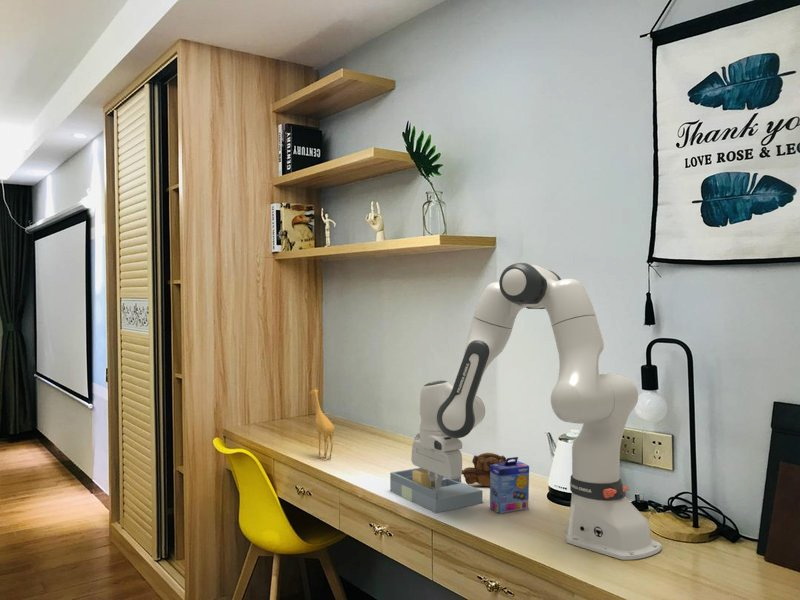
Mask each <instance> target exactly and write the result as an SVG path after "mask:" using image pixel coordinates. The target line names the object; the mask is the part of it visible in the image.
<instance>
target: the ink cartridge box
mask: <svg viewBox="0 0 800 600" xmlns="http://www.w3.org/2000/svg"><path fill="white" fill-rule="evenodd" d="M518 459H519V456H515V457H506V462H505V463H498V464H492V465H490V486H489V508H490V509H492V510H493V511H495V512H496V513H498V514H503V513H511V512H518V511H524V510H525V511H526V510H528V509H529V502H530V501H529V499H530V498H529V495H530V493H529V491H530V489H529V488H530V465H528V464H526V463H525V462H521V461H518Z"/></svg>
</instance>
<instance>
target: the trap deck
mask: <svg viewBox="0 0 800 600" xmlns="http://www.w3.org/2000/svg"><path fill="white" fill-rule="evenodd" d="M421 469H423V468H420V467H417V468H416V467H415V468H409V469H405V470H404V469H403V470H398V471H392V472H390V473H389V474H390V477H389V478H390V480H389V481H390V482H389V484H390V489H389V491H390V492H392V493H393V494H396V495H398V496H400V497H401V498H405V499H406V500H408V501H410V502H412V503H415V504H417V505H418V506H420V507H422V508H425V509H427V510H430V511H432V512H433V513H435V514H438V513H441V512H446V511H451V509H452V510H455V508H456V509H460V508H465V507H470V506H475V505H480V504H483V490H482V489H480V488H478V487H474V486H472V485H471V484H467V483H464V482H462V475H461V476H460V478H457V479H452V480H450V479H448V478H445V477H443V479H442V482H441V488H440V489H435V488H428V487H425V486H423V485H421V484H418V483H416V482H414V481H413V471H415V470H421Z"/></svg>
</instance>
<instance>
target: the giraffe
mask: <svg viewBox="0 0 800 600" xmlns="http://www.w3.org/2000/svg"><path fill="white" fill-rule="evenodd" d="M318 392H319V389H318V387H316V388H315V387H314V388H313V389H312V390H310V391H309V394H311V395H313V396H314V402H315V427H316V431H317V434H318V457H320V458H321V434H322V437H323V442H324V455H323V458H324V456H325V458H324V459H326V460H327V457H328V449H329V440H330V453H329V457H328V459H329V458H330V459H332V452H333V447H334V442H333V438H334V433H335V429H336V428H335V426H334V424H333V423H332V421H331V420H330V419H329V418H328V417H327V416H326V415H325V414H324V413H323V411H322V409H321V407H320V401H319V395H318ZM328 438H329V439H328ZM324 459H323V460H324Z"/></svg>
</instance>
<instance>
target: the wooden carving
mask: <svg viewBox="0 0 800 600" xmlns="http://www.w3.org/2000/svg"><path fill="white" fill-rule="evenodd" d="M506 459H507V457H506V456H504V455H499V454H498V453H494V452H484V453H481V454H480V453H479V454H478V455H474V456H473V458H472V460H471V461H472V464H473V467H471V466H469V467H465V468H463V469H462V475H463V478H464V479H465V480H464V481H465V484H467V485H473V484H476V483H477V484H479V485H480V486H484V487H490V465H492V464H498V463H505V462H506Z"/></svg>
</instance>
